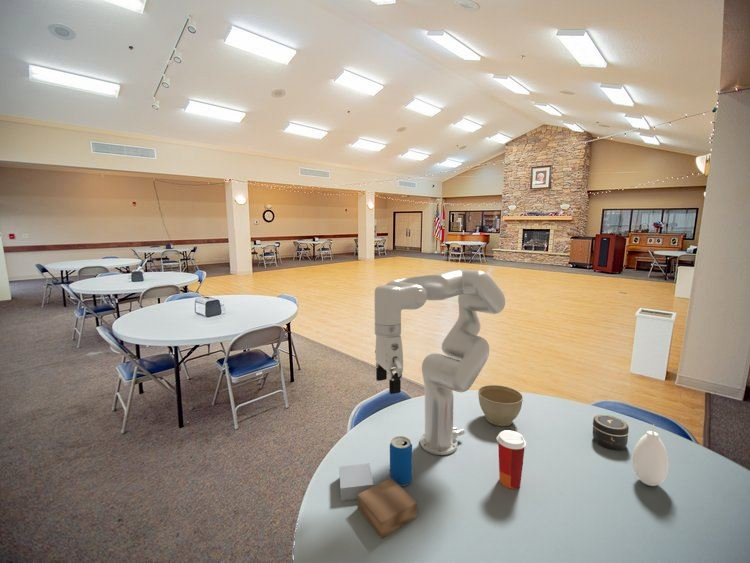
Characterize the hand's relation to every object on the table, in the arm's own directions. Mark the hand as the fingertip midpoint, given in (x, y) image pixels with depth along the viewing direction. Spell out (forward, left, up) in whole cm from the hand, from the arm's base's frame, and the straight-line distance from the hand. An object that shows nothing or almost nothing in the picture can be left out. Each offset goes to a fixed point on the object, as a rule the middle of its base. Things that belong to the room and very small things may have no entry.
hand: (387, 386), depth 99 cm
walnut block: (+7, +13, -28) cm, 31 cm away
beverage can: (-2, +4, -28) cm, 28 cm away
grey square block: (+11, +1, -28) cm, 30 cm away
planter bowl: (-52, -9, -28) cm, 60 cm away
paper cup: (-30, +18, -28) cm, 45 cm away
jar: (-75, +18, -28) cm, 82 cm away
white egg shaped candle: (-65, +35, -28) cm, 79 cm away
